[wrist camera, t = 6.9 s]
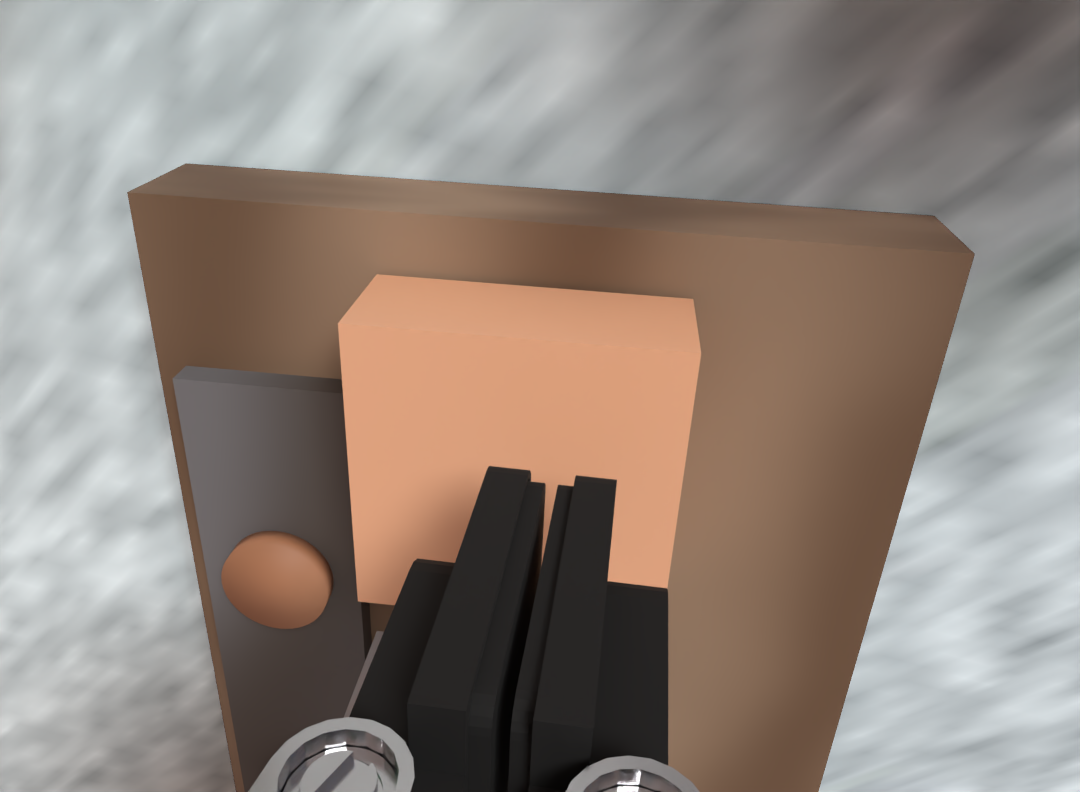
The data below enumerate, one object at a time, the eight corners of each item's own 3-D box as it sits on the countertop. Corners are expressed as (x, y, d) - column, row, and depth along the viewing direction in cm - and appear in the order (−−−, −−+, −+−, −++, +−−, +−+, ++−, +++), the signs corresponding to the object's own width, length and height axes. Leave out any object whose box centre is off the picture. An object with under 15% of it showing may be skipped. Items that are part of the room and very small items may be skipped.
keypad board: (934, 216, 15) (996, 275, 12) (747, 925, 24) (760, 1043, 21) (185, 163, 15) (95, 207, 13) (289, 866, 25) (249, 973, 22)
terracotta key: (693, 299, 13) (701, 353, 12) (658, 555, 16) (660, 632, 14) (377, 274, 14) (337, 323, 12) (388, 529, 16) (358, 601, 14)
